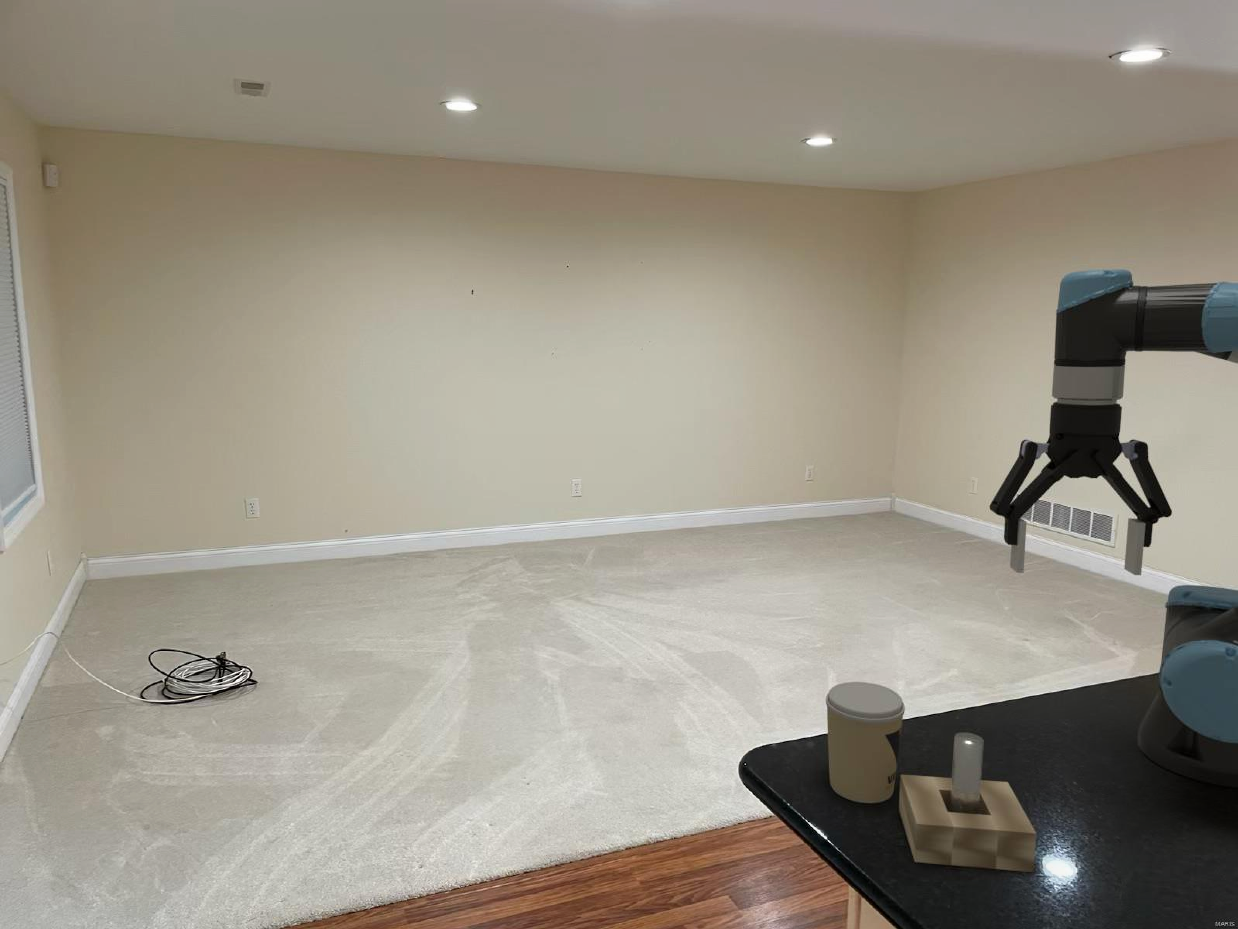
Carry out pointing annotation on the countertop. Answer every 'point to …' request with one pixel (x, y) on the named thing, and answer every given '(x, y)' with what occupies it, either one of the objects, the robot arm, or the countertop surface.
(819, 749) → the countertop surface
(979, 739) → the peg
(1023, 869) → the hole block
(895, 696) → the coffee cup
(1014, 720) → the countertop surface
